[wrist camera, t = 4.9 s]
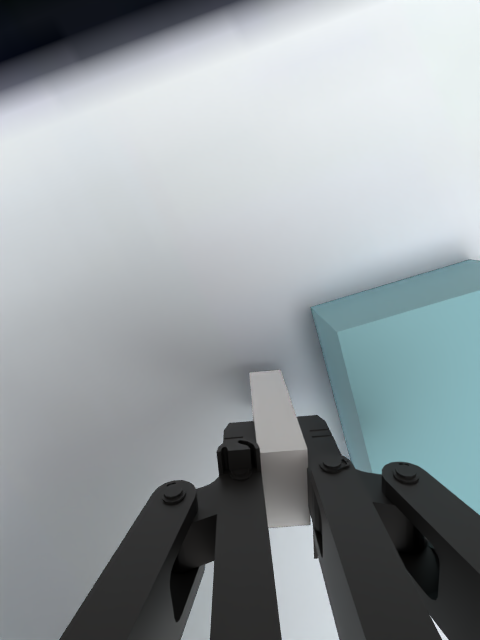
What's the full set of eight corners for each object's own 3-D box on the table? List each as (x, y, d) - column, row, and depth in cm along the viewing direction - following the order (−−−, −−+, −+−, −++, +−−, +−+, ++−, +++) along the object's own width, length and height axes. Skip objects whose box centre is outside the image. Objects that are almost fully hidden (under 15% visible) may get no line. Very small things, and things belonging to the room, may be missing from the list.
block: (353, 472, 21) (390, 546, 16) (309, 306, 19) (337, 332, 14) (493, 433, 20) (575, 496, 16) (466, 259, 18) (552, 268, 13)
